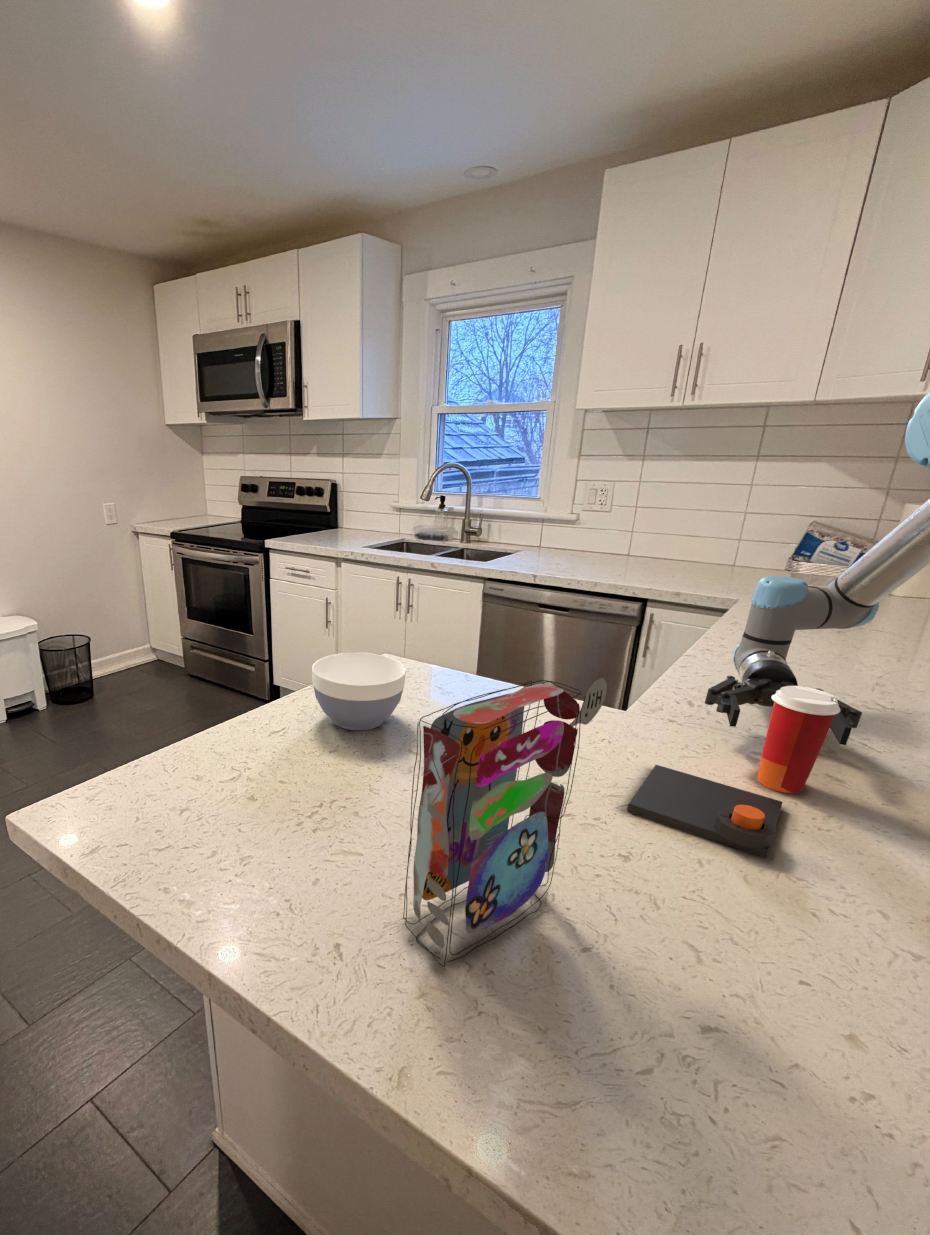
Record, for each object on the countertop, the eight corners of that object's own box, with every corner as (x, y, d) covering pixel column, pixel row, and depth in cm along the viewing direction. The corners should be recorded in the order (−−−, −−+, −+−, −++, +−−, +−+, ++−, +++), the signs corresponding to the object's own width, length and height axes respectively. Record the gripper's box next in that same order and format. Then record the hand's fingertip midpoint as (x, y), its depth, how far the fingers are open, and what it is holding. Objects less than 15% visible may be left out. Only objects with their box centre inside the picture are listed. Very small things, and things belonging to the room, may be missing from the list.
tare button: (762, 822, 79) (766, 810, 78) (759, 834, 77) (763, 822, 76) (733, 813, 81) (736, 801, 80) (728, 824, 79) (732, 812, 78)
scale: (780, 809, 87) (787, 790, 86) (765, 863, 76) (772, 842, 75) (653, 771, 96) (658, 753, 95) (624, 814, 85) (628, 795, 84)
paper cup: (811, 780, 94) (842, 692, 89) (811, 803, 88) (844, 710, 83) (749, 765, 98) (774, 680, 93) (745, 786, 92) (773, 697, 87)
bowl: (293, 716, 112) (292, 665, 109) (358, 694, 122) (359, 646, 118) (355, 749, 101) (357, 693, 98) (422, 721, 111) (425, 669, 108)
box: (552, 846, 79) (585, 658, 69) (597, 872, 74) (639, 675, 64) (400, 932, 65) (415, 714, 55) (444, 971, 60) (469, 740, 51)
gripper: (691, 648, 115) (698, 688, 97) (862, 670, 105) (905, 719, 87) (681, 687, 117) (687, 733, 100) (847, 712, 108) (886, 768, 90)
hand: (788, 727), depth 93 cm, fingers open, 13 cm apart
